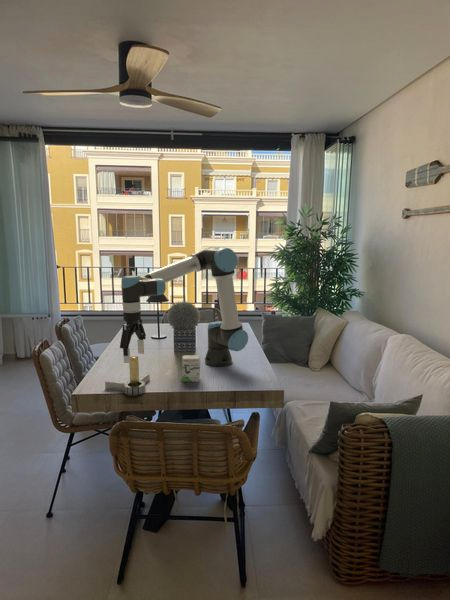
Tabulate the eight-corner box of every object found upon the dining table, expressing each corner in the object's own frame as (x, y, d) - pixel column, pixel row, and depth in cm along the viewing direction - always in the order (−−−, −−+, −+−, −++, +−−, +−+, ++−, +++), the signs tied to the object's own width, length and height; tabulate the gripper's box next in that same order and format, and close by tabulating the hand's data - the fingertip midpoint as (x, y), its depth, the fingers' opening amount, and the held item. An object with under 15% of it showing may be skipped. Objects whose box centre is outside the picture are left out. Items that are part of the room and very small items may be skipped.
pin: (141, 390, 178) (139, 356, 176) (137, 393, 174) (135, 359, 172) (133, 389, 179) (131, 355, 177) (128, 392, 175) (127, 358, 173)
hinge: (157, 381, 190) (157, 374, 189) (139, 396, 171) (139, 388, 171) (121, 377, 194) (121, 371, 194) (100, 392, 176) (100, 384, 175)
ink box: (182, 382, 188) (181, 358, 187) (182, 378, 193) (182, 355, 192) (199, 381, 189) (199, 358, 187) (199, 377, 194) (199, 355, 192)
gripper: (136, 305, 184) (139, 349, 187) (109, 316, 160) (112, 366, 163) (151, 306, 182) (153, 350, 185) (126, 317, 158) (128, 367, 162)
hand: (134, 357), depth 174 cm, fingers open, 13 cm apart
